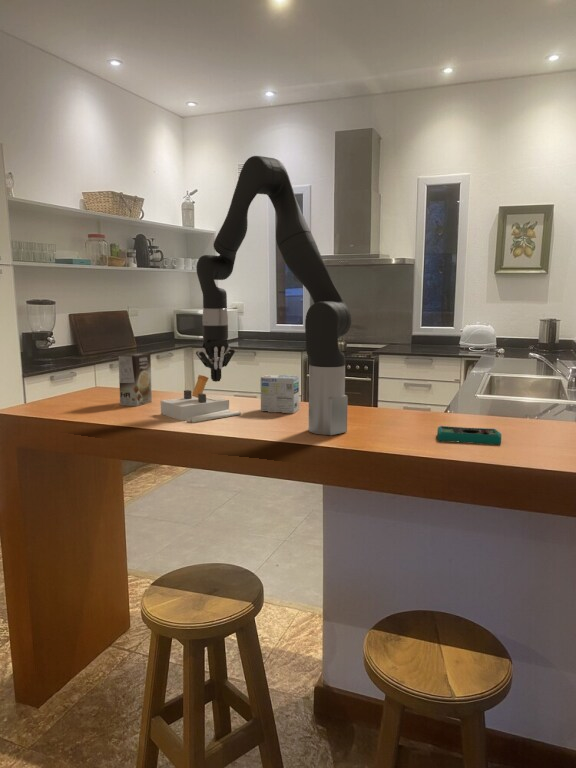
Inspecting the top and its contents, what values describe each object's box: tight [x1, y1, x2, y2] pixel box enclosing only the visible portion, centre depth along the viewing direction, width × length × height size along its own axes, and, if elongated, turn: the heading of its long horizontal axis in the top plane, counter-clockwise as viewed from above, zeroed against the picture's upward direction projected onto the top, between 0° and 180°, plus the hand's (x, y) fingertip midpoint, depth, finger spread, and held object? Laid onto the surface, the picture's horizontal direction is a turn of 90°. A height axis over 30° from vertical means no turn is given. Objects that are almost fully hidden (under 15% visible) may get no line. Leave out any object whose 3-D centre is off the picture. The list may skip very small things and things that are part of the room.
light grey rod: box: [192, 410, 242, 424], centre depth 161 cm, size 1×16×1 cm, turn 131°
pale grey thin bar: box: [185, 408, 231, 423], centre depth 163 cm, size 1×16×1 cm, turn 141°
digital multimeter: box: [436, 425, 502, 445], centre depth 139 cm, size 7×15×3 cm, turn 78°
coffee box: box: [118, 352, 153, 407], centre depth 183 cm, size 9×6×16 cm
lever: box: [191, 374, 209, 398], centre depth 168 cm, size 3×2×7 cm, turn 41°
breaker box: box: [160, 389, 230, 421], centre depth 168 cm, size 12×16×6 cm
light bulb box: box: [260, 374, 300, 414], centre depth 172 cm, size 11×7×11 cm, turn 76°
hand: (216, 381), depth 172 cm, fingers closed
